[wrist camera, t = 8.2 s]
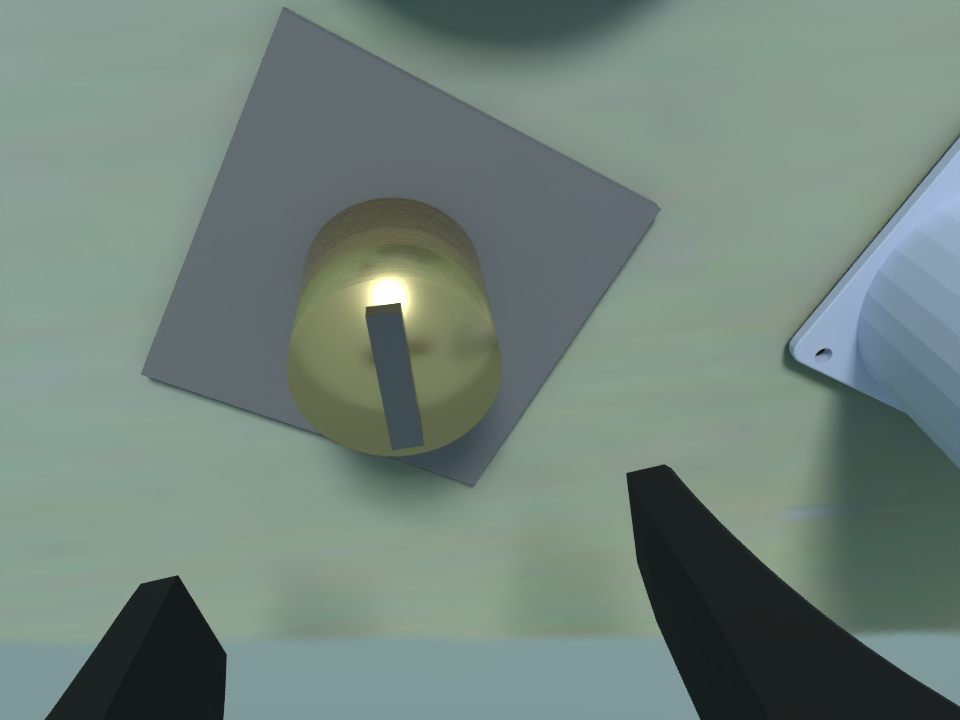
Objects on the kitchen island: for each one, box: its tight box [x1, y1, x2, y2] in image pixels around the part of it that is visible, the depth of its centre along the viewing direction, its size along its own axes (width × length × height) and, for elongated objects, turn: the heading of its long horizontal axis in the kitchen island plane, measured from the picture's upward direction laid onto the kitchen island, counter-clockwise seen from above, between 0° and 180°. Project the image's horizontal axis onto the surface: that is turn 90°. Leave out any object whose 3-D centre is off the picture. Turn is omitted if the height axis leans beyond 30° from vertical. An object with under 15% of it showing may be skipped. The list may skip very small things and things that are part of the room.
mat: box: [141, 7, 661, 485], centre depth 20 cm, size 10×10×1 cm
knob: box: [287, 198, 502, 456], centre depth 18 cm, size 4×4×5 cm
